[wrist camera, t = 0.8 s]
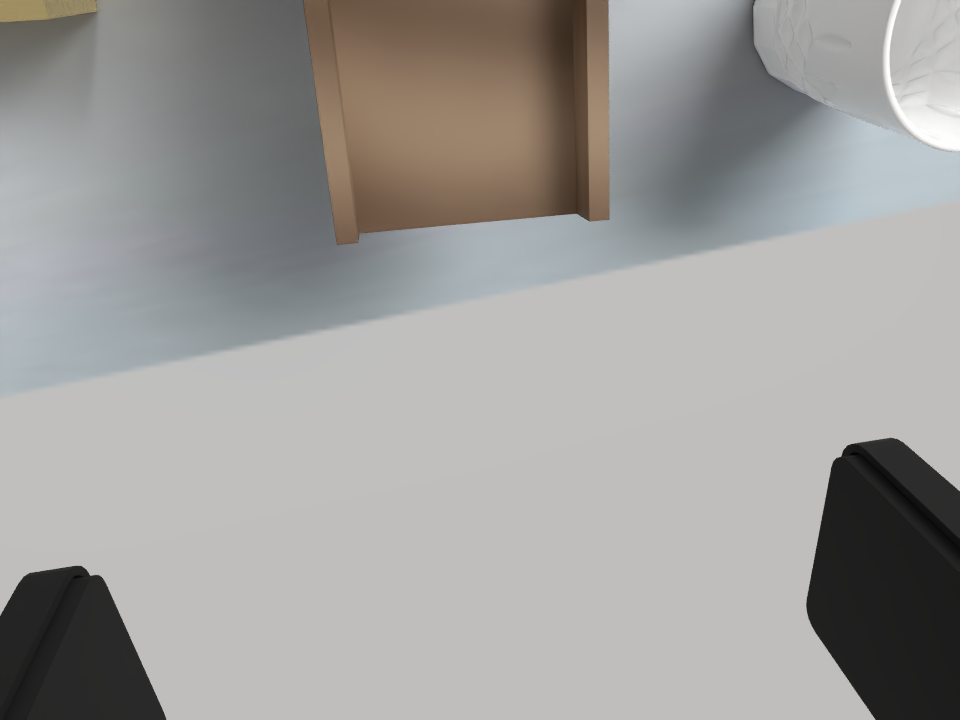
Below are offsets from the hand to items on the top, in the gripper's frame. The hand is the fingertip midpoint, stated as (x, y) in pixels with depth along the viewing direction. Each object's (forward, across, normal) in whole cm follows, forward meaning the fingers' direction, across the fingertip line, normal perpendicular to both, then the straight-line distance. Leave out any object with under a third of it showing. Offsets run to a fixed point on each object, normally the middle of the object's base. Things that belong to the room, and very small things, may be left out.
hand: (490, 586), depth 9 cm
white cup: (+25, -19, -4) cm, 32 cm away
